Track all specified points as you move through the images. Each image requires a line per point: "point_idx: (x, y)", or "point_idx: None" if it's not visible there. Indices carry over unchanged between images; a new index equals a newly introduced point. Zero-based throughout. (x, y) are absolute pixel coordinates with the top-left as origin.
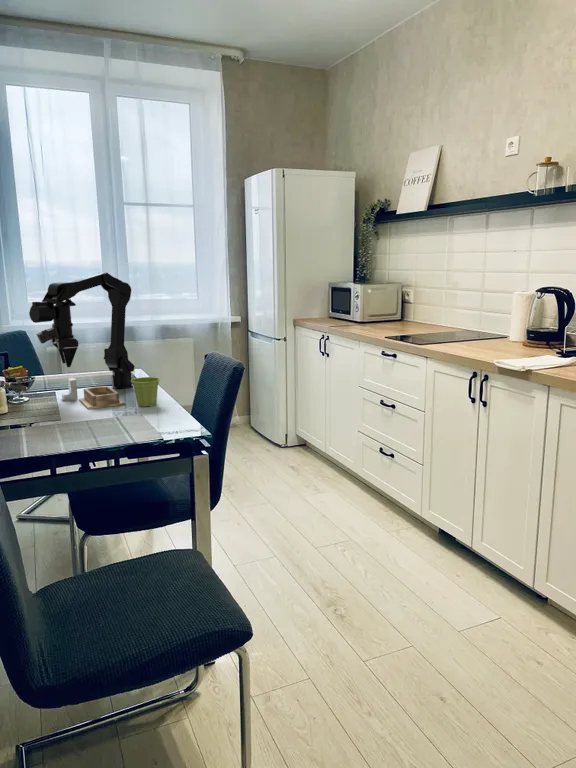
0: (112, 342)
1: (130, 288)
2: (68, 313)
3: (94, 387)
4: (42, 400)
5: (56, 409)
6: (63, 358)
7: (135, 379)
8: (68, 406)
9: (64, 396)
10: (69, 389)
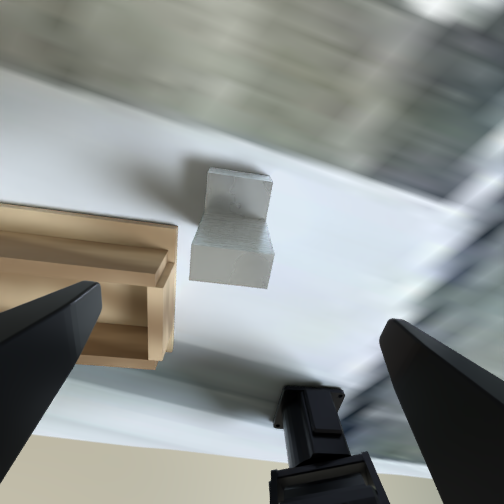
0: None
1: None
2: None
3: (157, 320)
4: (306, 69)
5: (8, 53)
6: (419, 368)
7: None
8: (62, 139)
9: (208, 174)
10: (247, 224)
